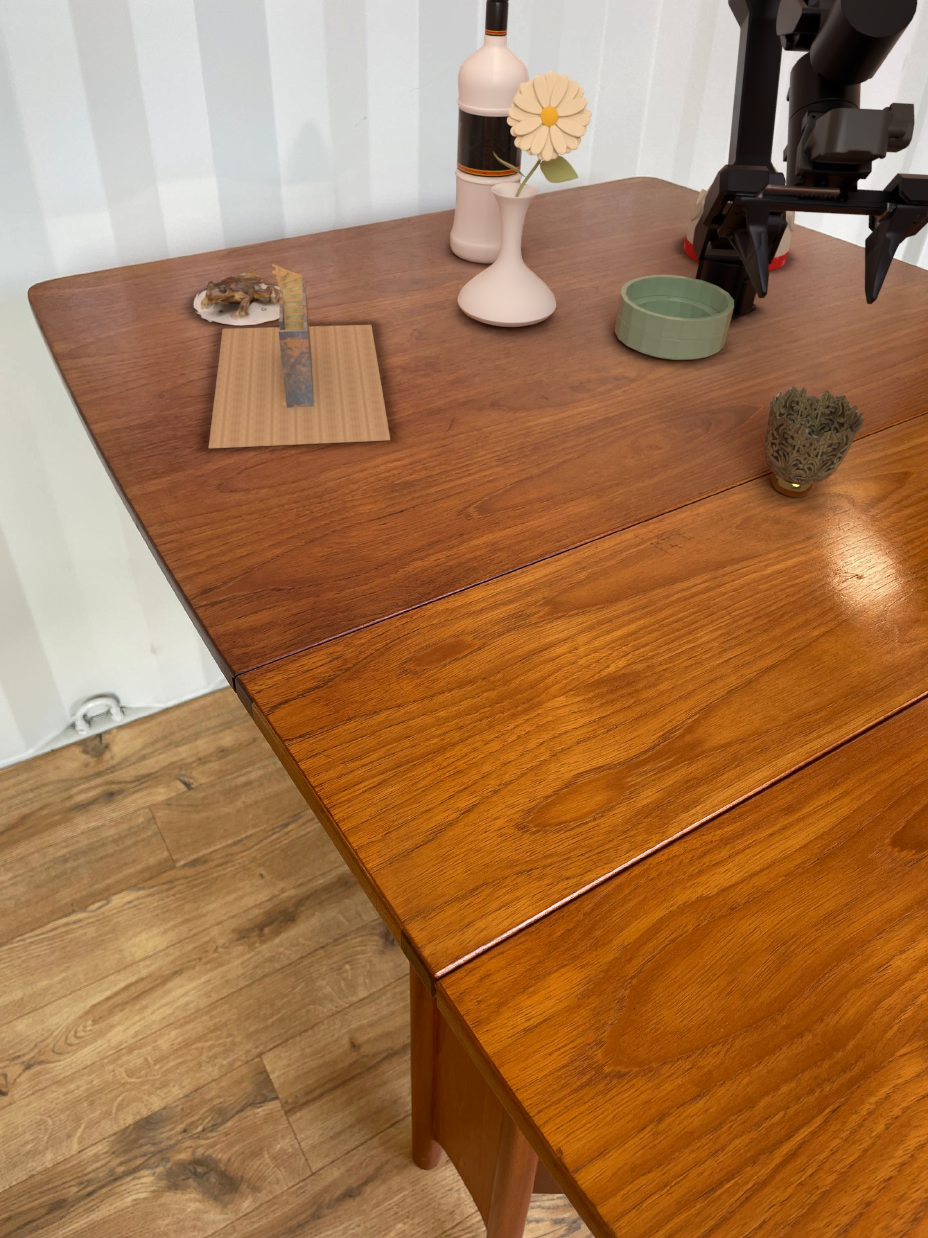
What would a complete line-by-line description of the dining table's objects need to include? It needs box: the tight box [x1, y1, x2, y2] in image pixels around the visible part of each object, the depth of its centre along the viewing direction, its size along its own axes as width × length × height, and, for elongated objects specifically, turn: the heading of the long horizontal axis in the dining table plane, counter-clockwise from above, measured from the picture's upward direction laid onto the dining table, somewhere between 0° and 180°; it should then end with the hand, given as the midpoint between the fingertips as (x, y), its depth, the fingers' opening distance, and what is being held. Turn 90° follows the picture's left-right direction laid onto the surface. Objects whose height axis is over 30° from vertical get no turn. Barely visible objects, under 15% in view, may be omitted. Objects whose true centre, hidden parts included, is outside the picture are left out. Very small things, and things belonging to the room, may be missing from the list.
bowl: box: [613, 274, 734, 361], centre depth 99 cm, size 12×12×5 cm
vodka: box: [449, 0, 530, 265], centre depth 108 cm, size 9×9×30 cm
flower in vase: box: [457, 70, 592, 328], centre depth 95 cm, size 13×11×25 cm
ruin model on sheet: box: [208, 263, 391, 449], centre depth 87 cm, size 25×16×10 cm, turn 8°
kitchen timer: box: [682, 166, 796, 272], centre depth 116 cm, size 14×14×15 cm
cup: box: [763, 385, 865, 498], centre depth 76 cm, size 8×7×8 cm
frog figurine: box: [193, 269, 280, 326], centre depth 102 cm, size 12×12×4 cm
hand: (817, 299), depth 75 cm, fingers open, 9 cm apart
